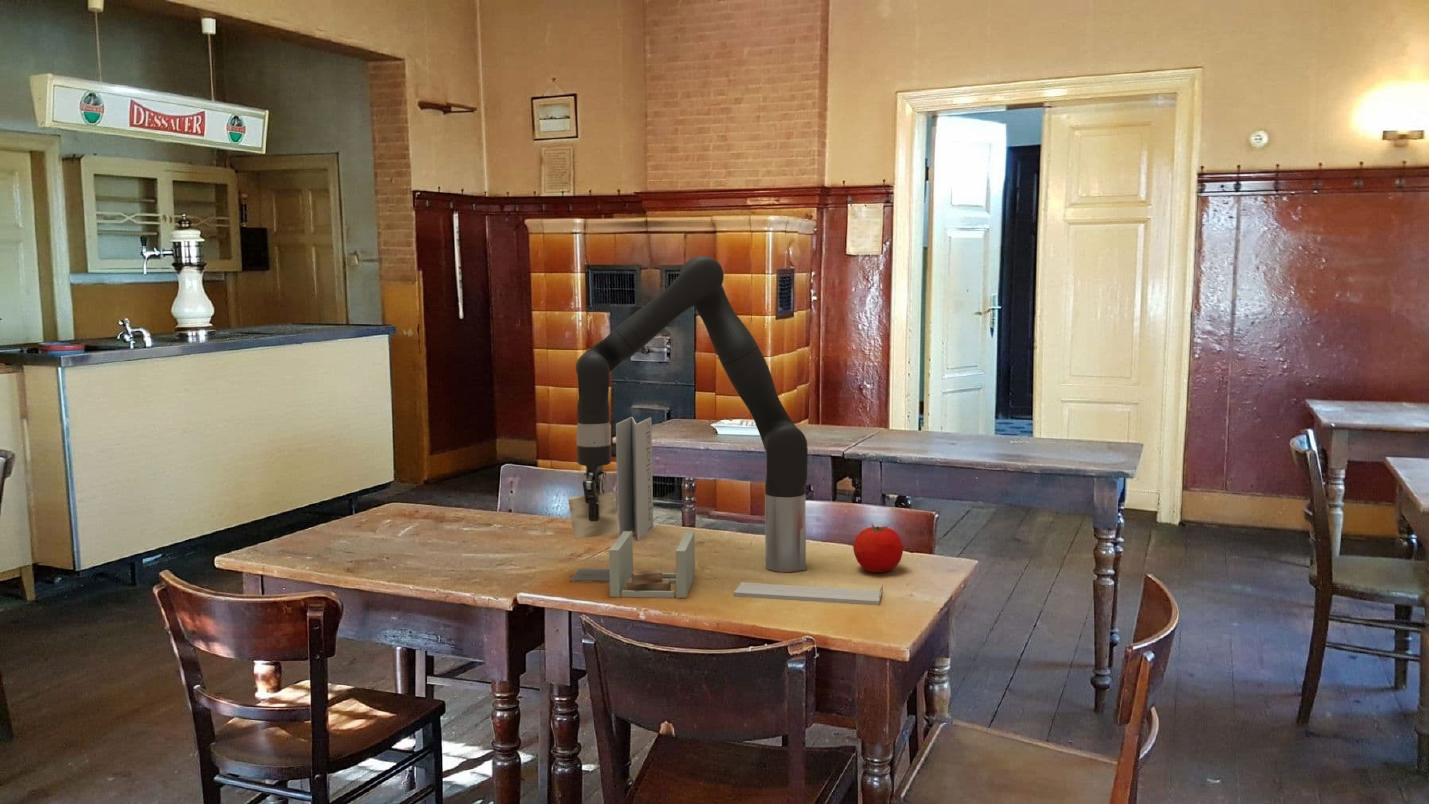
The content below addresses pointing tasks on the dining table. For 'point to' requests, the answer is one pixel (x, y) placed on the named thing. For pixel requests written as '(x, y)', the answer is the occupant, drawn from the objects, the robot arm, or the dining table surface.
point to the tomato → (878, 549)
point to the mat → (592, 575)
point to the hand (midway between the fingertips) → (595, 519)
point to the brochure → (634, 476)
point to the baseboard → (809, 593)
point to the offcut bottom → (650, 586)
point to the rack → (684, 573)
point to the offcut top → (647, 576)
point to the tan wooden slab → (602, 527)
